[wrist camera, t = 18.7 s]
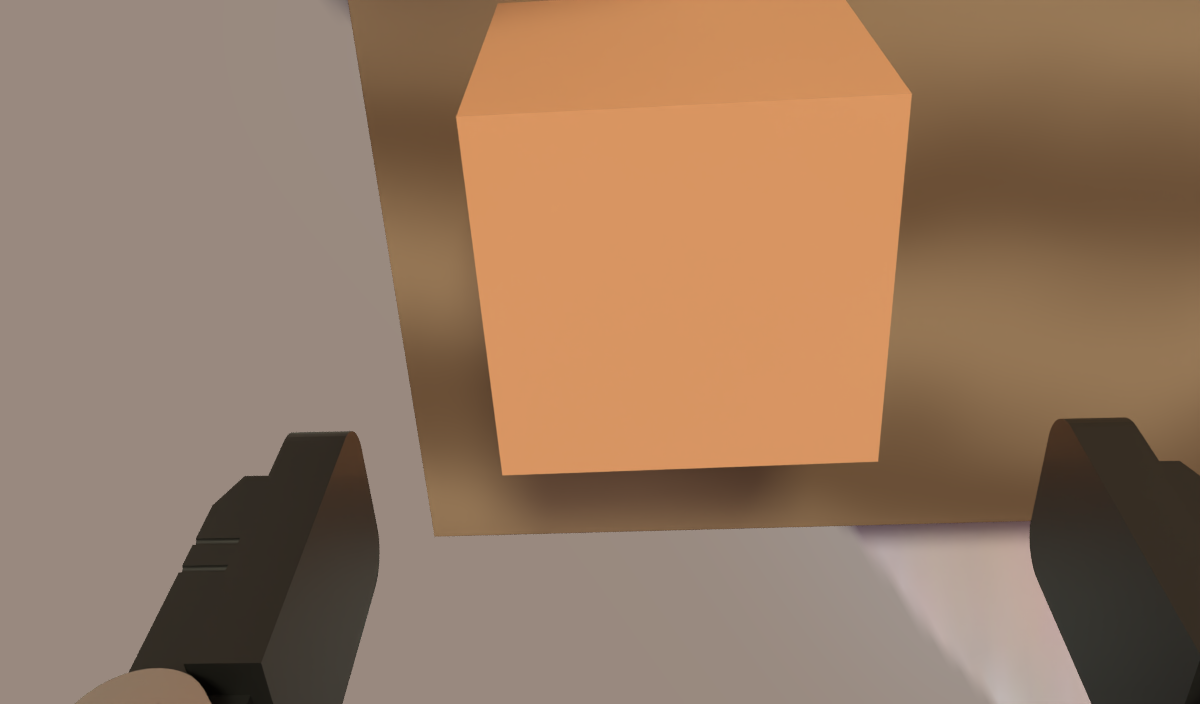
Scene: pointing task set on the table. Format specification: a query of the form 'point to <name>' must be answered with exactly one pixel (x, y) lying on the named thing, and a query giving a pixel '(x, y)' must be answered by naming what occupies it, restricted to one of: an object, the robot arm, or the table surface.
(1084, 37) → the base plate
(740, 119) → the orange cube
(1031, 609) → the table surface
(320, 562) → the robot arm
